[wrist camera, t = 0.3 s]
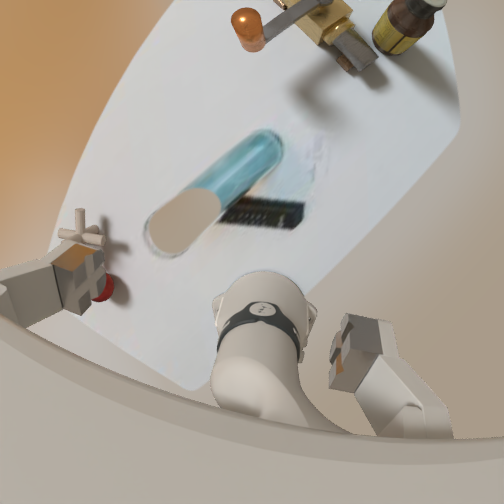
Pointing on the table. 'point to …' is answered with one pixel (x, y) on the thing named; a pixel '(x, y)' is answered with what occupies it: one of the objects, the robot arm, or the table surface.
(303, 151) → the table surface
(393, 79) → the table surface
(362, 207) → the table surface
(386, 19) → the sauce bottle
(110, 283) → the onion
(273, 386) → the robot arm
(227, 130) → the table surface
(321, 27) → the ball valve
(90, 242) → the pipe connector
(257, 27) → the crank handle
